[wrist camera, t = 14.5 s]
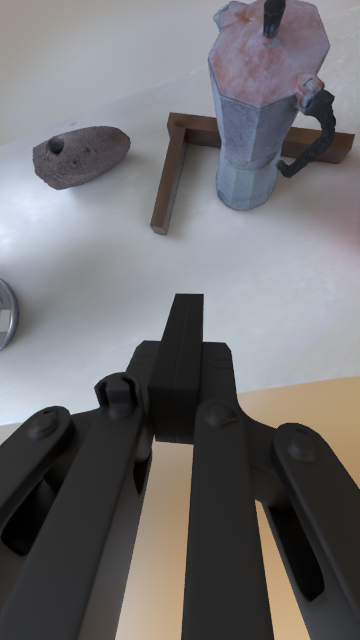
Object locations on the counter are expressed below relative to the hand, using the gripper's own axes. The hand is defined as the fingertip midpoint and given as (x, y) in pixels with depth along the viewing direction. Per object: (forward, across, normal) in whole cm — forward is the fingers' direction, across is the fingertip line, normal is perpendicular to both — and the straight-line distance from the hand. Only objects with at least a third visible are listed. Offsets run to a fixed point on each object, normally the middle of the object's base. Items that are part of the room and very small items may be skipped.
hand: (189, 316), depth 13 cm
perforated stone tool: (+34, -19, +9) cm, 40 cm away
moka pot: (+31, +7, +6) cm, 32 cm away
